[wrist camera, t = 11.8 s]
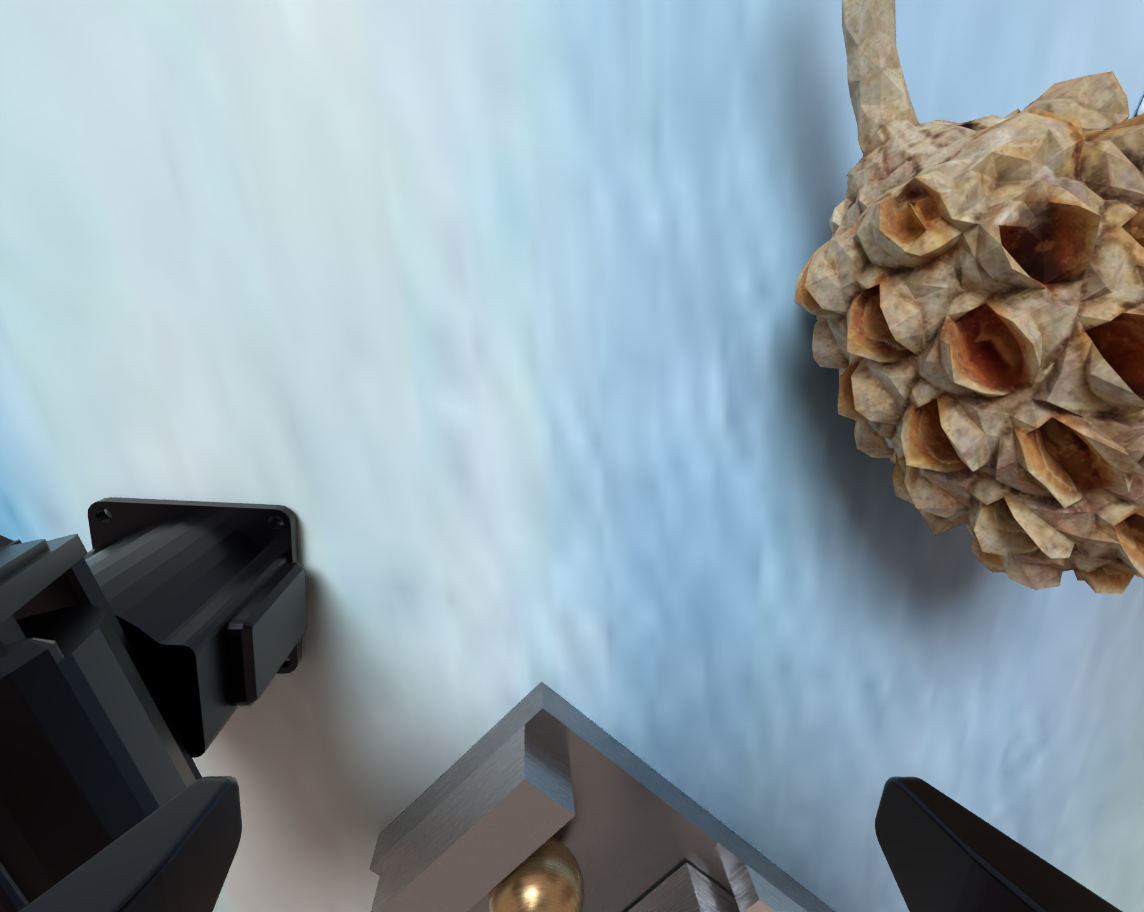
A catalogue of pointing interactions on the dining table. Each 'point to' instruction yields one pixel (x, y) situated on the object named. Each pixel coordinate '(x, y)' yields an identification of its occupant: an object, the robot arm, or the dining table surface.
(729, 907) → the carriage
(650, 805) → the base
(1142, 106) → the jar
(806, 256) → the dining table surface
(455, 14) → the dining table surface
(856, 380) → the pine cone
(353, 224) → the dining table surface
